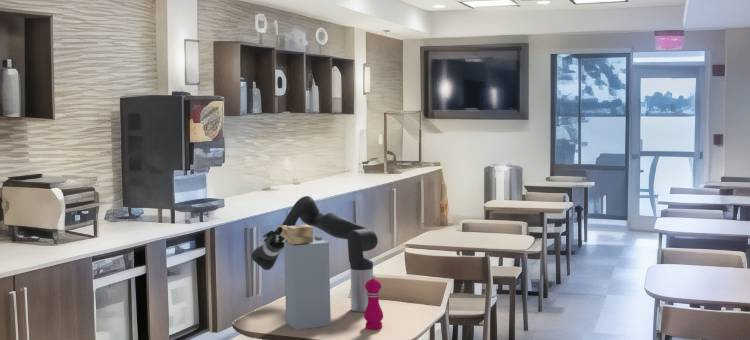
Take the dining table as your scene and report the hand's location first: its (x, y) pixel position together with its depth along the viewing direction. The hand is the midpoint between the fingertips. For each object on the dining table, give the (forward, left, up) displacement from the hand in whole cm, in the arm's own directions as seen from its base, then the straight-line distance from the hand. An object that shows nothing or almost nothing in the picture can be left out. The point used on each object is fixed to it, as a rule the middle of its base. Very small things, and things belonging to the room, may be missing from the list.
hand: (286, 228), depth 321 cm
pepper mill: (-24, +29, -36) cm, 52 cm away
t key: (0, +6, -3) cm, 7 cm away
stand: (-4, +12, -36) cm, 38 cm away
